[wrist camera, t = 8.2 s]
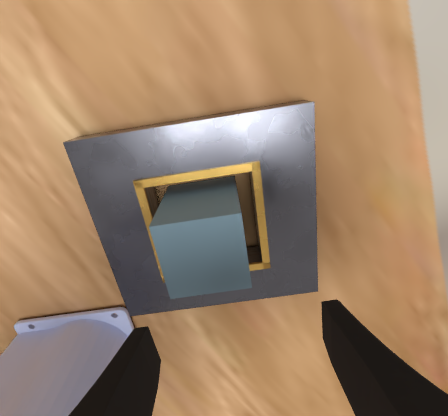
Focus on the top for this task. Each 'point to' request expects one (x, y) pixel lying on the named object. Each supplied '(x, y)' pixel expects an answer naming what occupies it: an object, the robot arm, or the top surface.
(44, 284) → the top surface
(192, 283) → the peg
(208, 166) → the square hole plate
